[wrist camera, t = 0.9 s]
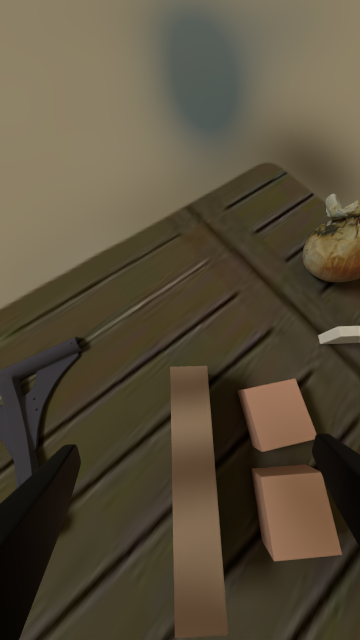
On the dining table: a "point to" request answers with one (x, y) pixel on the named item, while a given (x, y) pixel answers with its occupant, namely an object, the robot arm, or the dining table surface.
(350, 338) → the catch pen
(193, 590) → the bar
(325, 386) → the dining table surface
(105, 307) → the dining table surface
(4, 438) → the bracket
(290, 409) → the tile
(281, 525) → the tile
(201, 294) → the dining table surface
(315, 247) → the onion
